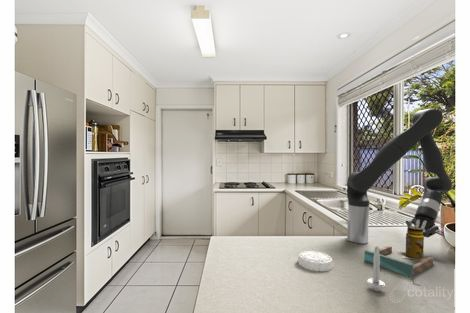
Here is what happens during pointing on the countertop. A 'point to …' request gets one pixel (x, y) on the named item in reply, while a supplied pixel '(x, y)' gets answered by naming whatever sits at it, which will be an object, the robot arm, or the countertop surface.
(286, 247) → the countertop surface
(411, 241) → the condiment
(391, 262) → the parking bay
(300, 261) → the mooncake
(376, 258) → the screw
